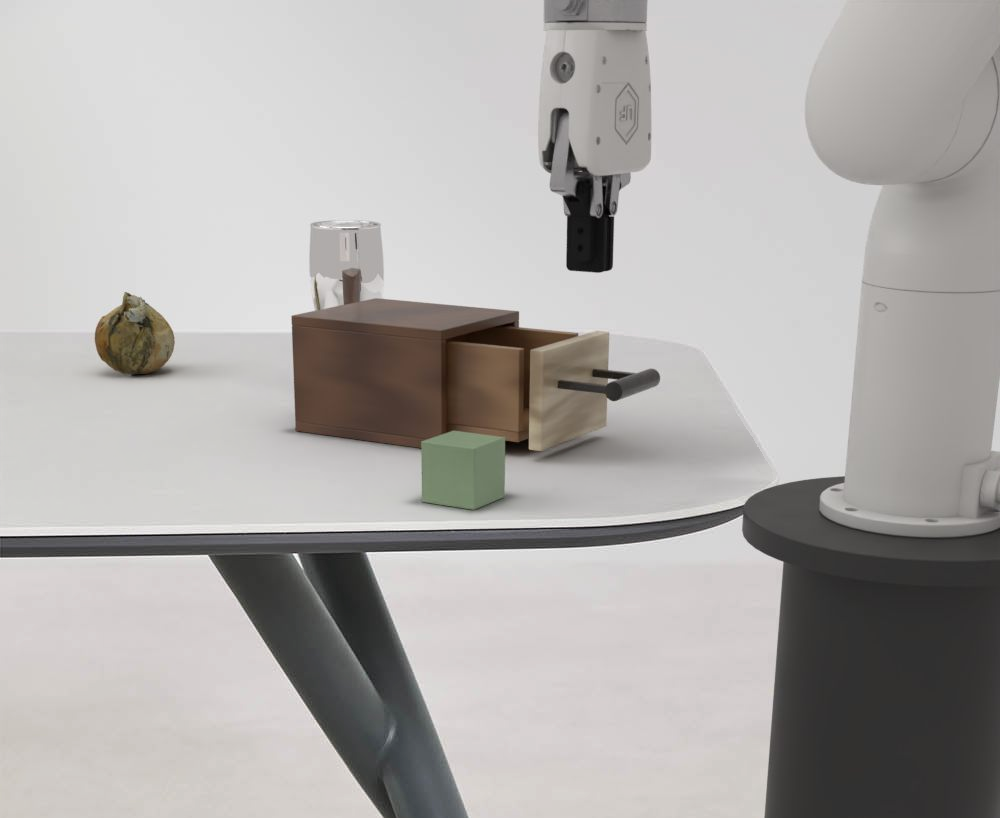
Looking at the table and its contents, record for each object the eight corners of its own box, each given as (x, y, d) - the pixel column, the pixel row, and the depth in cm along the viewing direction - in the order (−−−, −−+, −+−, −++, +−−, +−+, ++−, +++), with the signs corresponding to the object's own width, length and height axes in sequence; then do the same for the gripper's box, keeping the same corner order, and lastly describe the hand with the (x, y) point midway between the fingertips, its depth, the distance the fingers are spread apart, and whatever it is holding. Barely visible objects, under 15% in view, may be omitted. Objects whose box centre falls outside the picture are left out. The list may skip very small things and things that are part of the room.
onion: (194, 371, 171) (189, 289, 168) (132, 382, 165) (125, 297, 162) (144, 362, 175) (139, 282, 172) (82, 373, 170) (75, 290, 166)
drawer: (669, 433, 141) (673, 337, 138) (607, 460, 132) (610, 358, 129) (468, 409, 150) (469, 318, 147) (397, 432, 141) (396, 336, 138)
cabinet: (518, 424, 149) (519, 311, 145) (441, 451, 138) (441, 330, 135) (377, 406, 155) (375, 298, 152) (295, 431, 145) (290, 315, 141)
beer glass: (324, 395, 160) (319, 228, 154) (304, 382, 166) (299, 221, 160) (395, 390, 162) (393, 226, 157) (373, 377, 168) (370, 219, 163)
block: (504, 497, 125) (505, 437, 123) (474, 510, 121) (474, 448, 119) (453, 489, 127) (453, 430, 125) (421, 502, 123) (420, 441, 121)
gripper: (592, 6, 116) (586, 284, 123) (686, 11, 128) (676, 264, 135) (497, 7, 120) (497, 277, 127) (597, 12, 132) (592, 258, 139)
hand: (589, 270), depth 131 cm, fingers closed
